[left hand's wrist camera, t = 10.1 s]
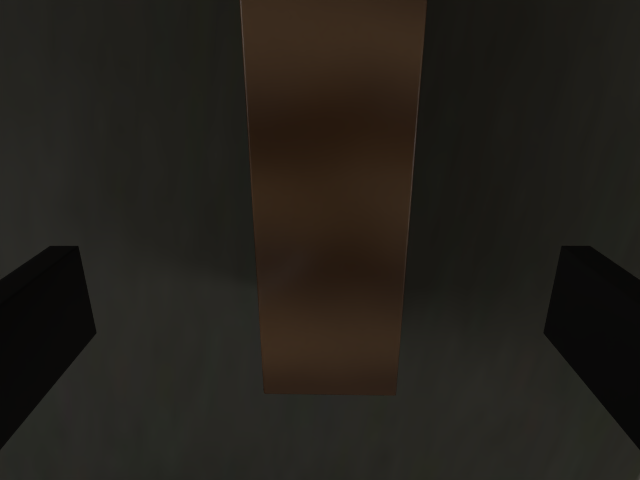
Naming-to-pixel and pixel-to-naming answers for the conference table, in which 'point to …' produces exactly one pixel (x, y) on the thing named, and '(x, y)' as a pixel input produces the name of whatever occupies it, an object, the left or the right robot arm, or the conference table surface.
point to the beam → (331, 185)
